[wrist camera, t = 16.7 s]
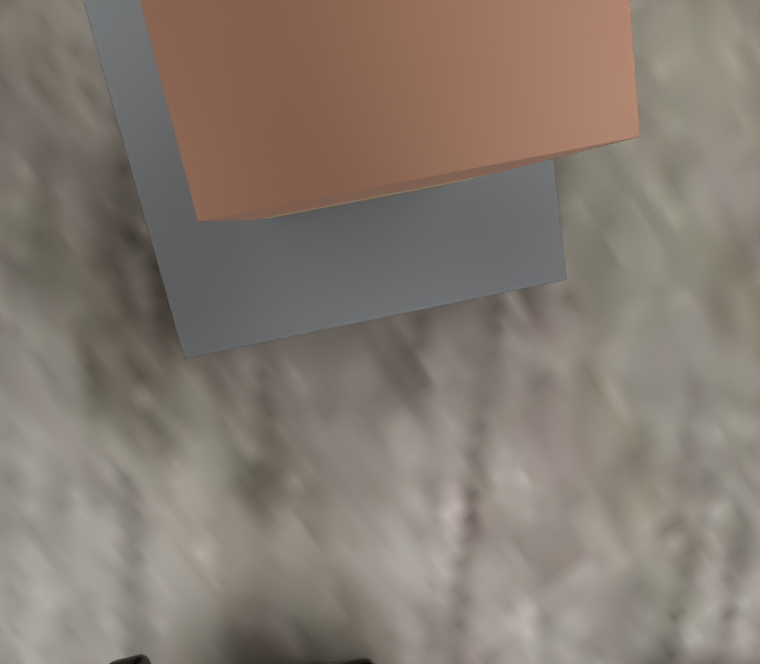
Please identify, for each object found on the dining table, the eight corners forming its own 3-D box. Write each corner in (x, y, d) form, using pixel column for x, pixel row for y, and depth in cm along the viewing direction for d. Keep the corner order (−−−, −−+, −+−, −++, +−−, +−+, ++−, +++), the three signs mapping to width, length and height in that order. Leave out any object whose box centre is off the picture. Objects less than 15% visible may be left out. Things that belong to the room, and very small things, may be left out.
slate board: (529, 270, 20) (566, 279, 17) (205, 337, 19) (184, 358, 16) (484, -100, 17) (518, -166, 14) (103, -41, 16) (55, -98, 13)
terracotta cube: (497, 172, 11) (640, 135, 6) (254, 219, 11) (198, 221, 6) (459, -107, 10) (597, -430, 5) (186, -64, 9) (42, -366, 5)
